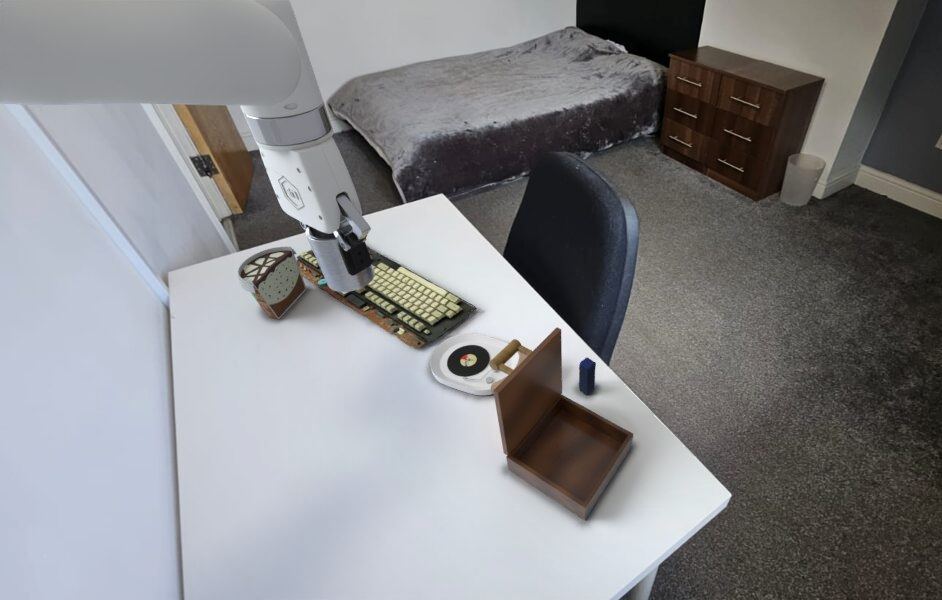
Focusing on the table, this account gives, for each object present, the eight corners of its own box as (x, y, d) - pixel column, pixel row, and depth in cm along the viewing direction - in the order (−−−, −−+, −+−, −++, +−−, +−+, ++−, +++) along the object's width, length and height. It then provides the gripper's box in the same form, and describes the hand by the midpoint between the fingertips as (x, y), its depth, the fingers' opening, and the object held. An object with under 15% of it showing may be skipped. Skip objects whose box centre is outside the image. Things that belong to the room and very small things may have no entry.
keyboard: (478, 312, 93) (476, 303, 91) (418, 356, 84) (415, 346, 82) (344, 235, 112) (341, 226, 111) (284, 264, 103) (279, 255, 102)
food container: (283, 281, 99) (263, 242, 92) (311, 284, 98) (292, 245, 92) (243, 321, 90) (218, 280, 83) (273, 325, 89) (250, 284, 82)
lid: (561, 329, 64) (530, 314, 67) (498, 393, 56) (464, 373, 58) (562, 392, 74) (534, 377, 76) (507, 456, 65) (478, 437, 67)
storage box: (631, 447, 71) (633, 433, 69) (584, 520, 63) (585, 508, 60) (560, 407, 76) (560, 393, 74) (508, 469, 68) (506, 456, 66)
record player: (521, 400, 73) (414, 365, 79) (522, 412, 75) (418, 377, 81) (551, 349, 82) (453, 320, 87) (552, 361, 84) (455, 332, 89)
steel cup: (346, 297, 60) (324, 246, 55) (317, 281, 63) (294, 230, 57) (384, 274, 64) (367, 223, 59) (356, 259, 67) (337, 209, 61)
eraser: (587, 397, 78) (588, 369, 74) (577, 389, 79) (578, 362, 75) (595, 389, 79) (597, 362, 75) (585, 382, 80) (587, 355, 76)
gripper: (211, 116, 51) (278, 252, 63) (307, 156, 44) (362, 300, 56) (278, 97, 56) (329, 227, 67) (374, 131, 49) (412, 269, 60)
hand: (343, 259), depth 61 cm, fingers closed on steel cup, 6 cm apart
